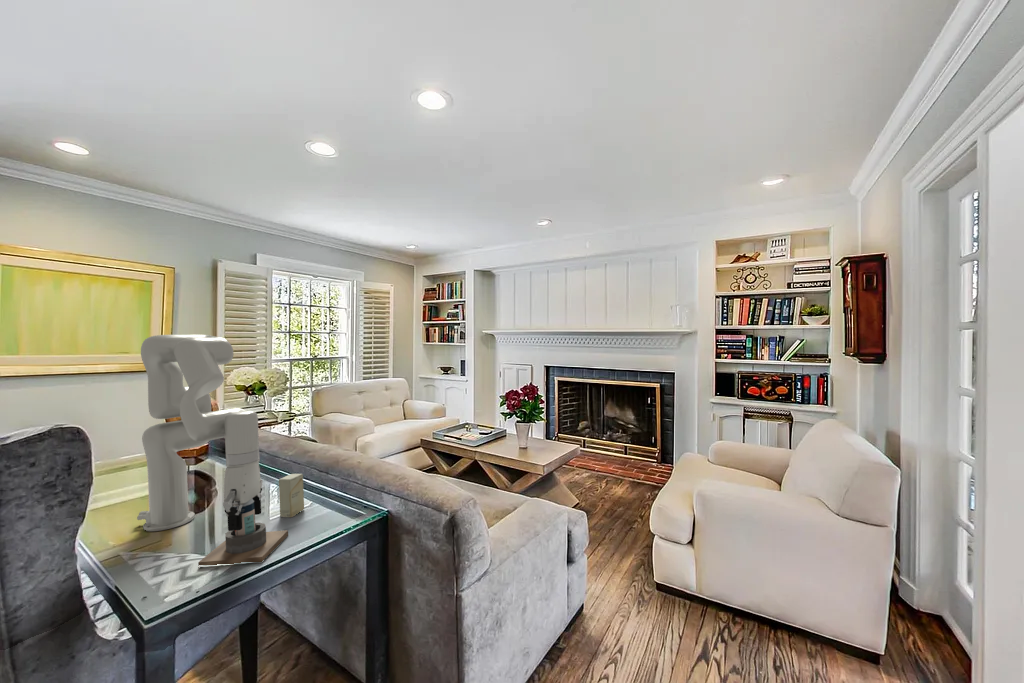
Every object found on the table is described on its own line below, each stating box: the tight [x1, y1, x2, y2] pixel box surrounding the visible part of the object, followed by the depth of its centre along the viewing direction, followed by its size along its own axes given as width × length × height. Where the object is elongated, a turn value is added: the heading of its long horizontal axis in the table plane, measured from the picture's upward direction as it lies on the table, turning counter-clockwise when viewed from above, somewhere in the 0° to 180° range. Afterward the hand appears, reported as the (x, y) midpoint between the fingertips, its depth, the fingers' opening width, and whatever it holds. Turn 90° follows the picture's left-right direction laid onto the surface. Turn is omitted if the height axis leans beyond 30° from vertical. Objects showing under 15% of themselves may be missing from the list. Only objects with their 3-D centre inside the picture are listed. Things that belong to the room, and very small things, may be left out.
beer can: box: [233, 499, 256, 536], centre depth 112 cm, size 5×5×12 cm
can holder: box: [198, 522, 289, 566], centre depth 112 cm, size 15×15×6 cm
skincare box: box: [278, 473, 305, 518], centre depth 136 cm, size 6×4×12 cm
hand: (245, 521), depth 112 cm, fingers open, 9 cm apart
